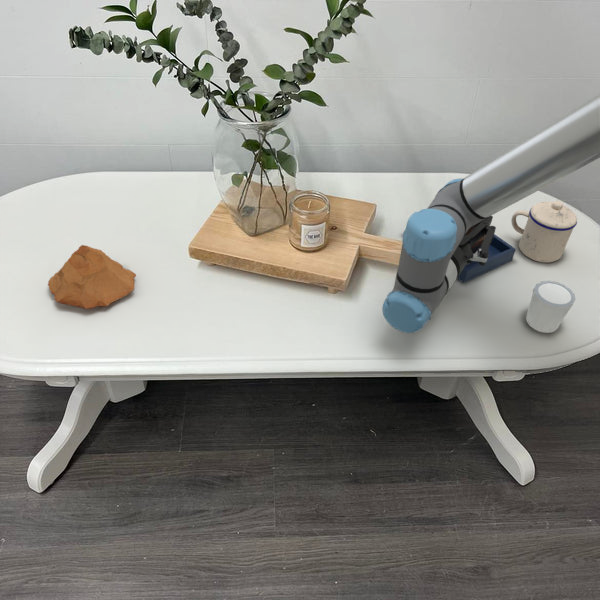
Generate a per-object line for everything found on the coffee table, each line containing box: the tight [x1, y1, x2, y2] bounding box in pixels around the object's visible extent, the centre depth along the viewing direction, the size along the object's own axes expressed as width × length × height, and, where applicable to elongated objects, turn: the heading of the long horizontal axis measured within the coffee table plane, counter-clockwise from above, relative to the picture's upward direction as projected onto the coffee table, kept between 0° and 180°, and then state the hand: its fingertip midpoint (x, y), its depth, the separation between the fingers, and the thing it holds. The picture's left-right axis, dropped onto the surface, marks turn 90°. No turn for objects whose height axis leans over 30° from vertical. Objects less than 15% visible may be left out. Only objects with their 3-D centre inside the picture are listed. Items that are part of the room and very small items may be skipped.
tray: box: [457, 233, 517, 284], centre depth 118 cm, size 18×14×3 cm
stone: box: [47, 244, 137, 310], centre depth 106 cm, size 15×15×10 cm
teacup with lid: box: [511, 200, 578, 263], centre depth 116 cm, size 12×9×12 cm
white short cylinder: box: [525, 280, 576, 334], centre depth 101 cm, size 7×7×7 cm
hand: (482, 206), depth 116 cm, fingers closed on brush, 3 cm apart
